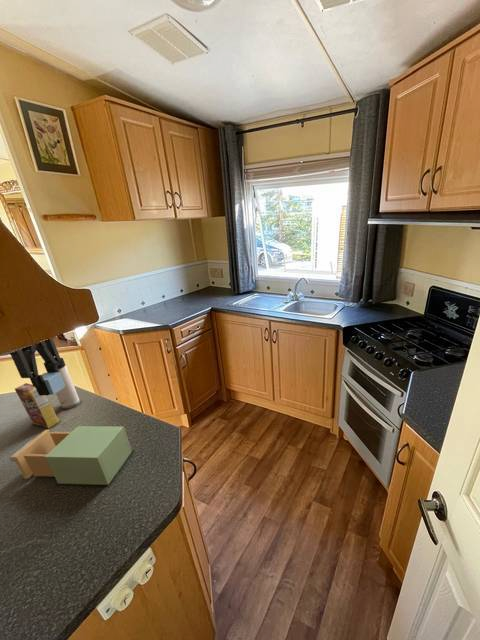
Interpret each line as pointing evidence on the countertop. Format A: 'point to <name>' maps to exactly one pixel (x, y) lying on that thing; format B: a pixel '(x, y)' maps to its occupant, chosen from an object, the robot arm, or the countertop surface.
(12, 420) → the countertop surface
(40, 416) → the candy box
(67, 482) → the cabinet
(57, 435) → the drawer
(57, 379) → the block
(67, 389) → the travel mug
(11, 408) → the countertop surface
